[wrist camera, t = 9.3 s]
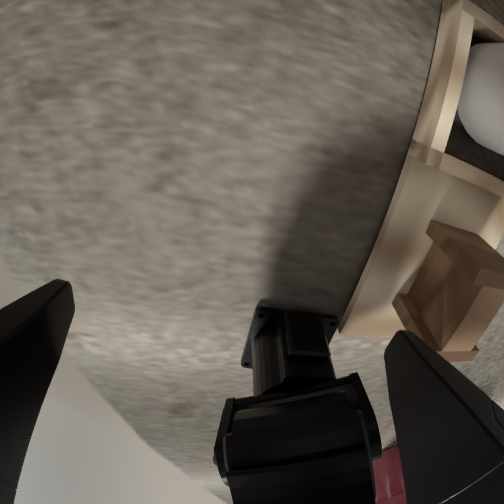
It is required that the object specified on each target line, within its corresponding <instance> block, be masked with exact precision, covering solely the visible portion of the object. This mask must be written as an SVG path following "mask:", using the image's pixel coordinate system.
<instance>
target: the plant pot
mask: <svg viewBox="0 0 504 504" xmlns="http://www.w3.org/2000/svg"><path fill="white" fill-rule="evenodd" d="M372 463H373V470H374V478H375V485H376V493H377V494H376V499H375V501H376V504H407V502H406V494H405V486H404V479H403V472H402V466H401V460H400V454H399V448H398V446H395V447H392V448H389V449H387V450H385V451H383V452H382V459H381V460H379V461H376V462H372Z"/></svg>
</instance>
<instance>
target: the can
mask: <svg viewBox="0 0 504 504" xmlns="http://www.w3.org/2000/svg"><path fill="white" fill-rule="evenodd" d="M457 110H458V114H459V117H460V119H461V121H462V123H463V125H464V127H465V130H466V131H467V133H468V134H469V135H470V136H471V137H472V138H473V139H474V141H475V142H477V143H478V144H480V145H482V146H484V147H486V148H488V149H490V150H492V151H494V152H496V153H499V154H501V155H503V156H504V43H481V44H475V45H473V46H472V47H470V50H469V56H468V61H467V66H466V71H465V76H464V80H463V85H462V89H461V93H460V97H459V101H458V105H457Z"/></svg>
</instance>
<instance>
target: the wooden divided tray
mask: <svg viewBox="0 0 504 504" xmlns="http://www.w3.org/2000/svg"><path fill="white" fill-rule="evenodd" d="M472 33H473V34H475V35H476V36H478V37H479V38H481V39H482V40H483V41H485V42H486V43H504V26H503V25H502V24H501V23H499V22H498V21H497V20H496V19H494V18H493V17H492V16H490V15H489V14H488V13H486V12H485V11H484V10H482V9H481V8H479V7H478V6H477V5H475V4H474V3H472V2H471V1H469V0H447V1H443V4H442V11H441V17H440V23H439V29H438V35H437V40H436V45H435V50H434V55H433V60H432V64H431V69H430V73H429V77H428V82H427V86H426V90H425V94H424V98H423V102H422V105H421V109H420V113H419V116H418V120H417V124H416V127H415V130H414V134H413V137H412V141H411V144H410V147H409V150H408V153H407V157H406V160H405V163H404V166H403V169H402V172H401V175H400V178H399V181H398V184H397V187H396V189H395V192H394V195H393V198H392V201H391V203H390V206H389V209H388V212H387V214H386V217H385V219H384V222H383V225H382V227H381V230H380V232H379V235H378V237H377V240H376V242H375V245H374V247H373V250H372V252H371V255H370V257H369V259H368V262H367V264H366V266H365V269H364V271H363V273H362V276H361V278H360V280H359V283H358V285H357V287H356V289H355V291H354V294H353V296H352V298H351V300H350V302H349V305H348V307H347V309H346V311H345V313H344V315H343V317H342V319H341V321H340V323H339V326H338V331H339V334H340V335H350V336H363V337H378V338H393V336H394V335H395V333H396V332H397V331H398V330H410V331H412V332H413V333H414V334H416V335H417V336H418V337H419V338H420V339H422V340H423V341H424V342H425V343H426V344H428V345H429V346H430V347H431V348H432V349H434V350H435V351H436V352H437V353H438V354H440V355H441V356H442V357H443V358H444V359H445V360H447V361H448V362H459V361H472V360H473V358H474V357H475V356H476V354H477V353H478V352H479V350H478V348H477V346H476V345H475V344H476V343H477V342H478V340H479V339H480V337H481V336H482V335H483V333H484V332H485V330H486V329H487V327H488V326H489V324H490V323H491V321H492V320H493V318H494V317H495V315H496V313H497V312H498V310H499V309H500V307H501V305H502V304H503V302H504V258H503V257H502V256H501V255H500V254H499V253H498V252H497V251H496V250H495V249H496V247H497V245H498V243H499V241H500V239H501V236H502V234H503V232H504V181H502V180H500V179H498V178H496V177H495V176H493V175H491V174H489V173H487V172H485V171H483V170H481V169H479V168H477V167H475V166H473V165H471V164H469V163H467V162H465V161H462V160H460V159H458V158H456V157H454V156H452V155H449V154H447V153H445V152H444V151H445V148H446V144H447V141H448V138H449V134H450V131H451V127H452V124H453V120H454V117H455V113H456V109H457V105H458V101H459V97H460V93H461V89H462V85H463V80H464V76H465V71H466V66H467V61H468V56H469V50H470V45H471V38H472Z"/></svg>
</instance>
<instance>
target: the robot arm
mask: <svg viewBox="0 0 504 504" xmlns="http://www.w3.org/2000/svg"><path fill="white" fill-rule="evenodd" d="M74 312H75V304H74V298H73V292H72V286H71V283H70V282H69V281H65V280H61V279H55V280H53V281H51V282H49V283H47V284H45V285H43V286H42V287H40V288H38V289H36V290H34V291H32V292H30V293H29V294H27V295H25V296H23V297H21V298H20V299H18V300H16V301H14V302H13V303H11V304H9V305H7V306H5V307H3V308H2V309H0V504H14V499H15V495H16V489H17V486H18V481H19V477H20V474H21V470H22V466H23V462H24V459H25V456H26V452H27V449H28V445H29V442H30V439H31V436H32V433H33V430H34V426H35V424H36V421H37V418H38V415H39V412H40V409H41V406H42V403H43V401H44V398H45V396H46V393H47V390H48V388H49V385H50V383H51V380H52V377H53V375H54V373H55V370H56V368H57V365H58V362H59V360H60V356H61V353H62V350H63V347H64V343H65V340H66V337H67V334H68V331H69V328H70V325H71V322H72V319H73V316H74ZM260 313H264V314H263V315H260ZM333 321H334V322H333ZM331 322H333V323H331ZM338 325H339V320H338V317H336V316H334V315H325V314H316V313H308V312H299V311H291V310H284V309H276V308H269V307H258V308H257V309H256V310H255V312H254V316H253V319H252V323H251V326H250V330H249V334H248V337H247V341H246V344H245V348H244V351H243V355H242V358H241V366H242V367H244V368H252V369H253V392H254V396H250V397H244V398H237V399H235V398H228V399H226V403H225V407H224V409H223V412H222V417H221V421H220V425H219V429H218V434H217V438H216V442H215V446H214V453H215V454H214V456H213V462H214V464H215V465H217V466H218V470H219V473H220V476H221V479H222V480H223V482H224V483H225V485H226V486H229V487H230V491H231V495H232V499H233V504H376V501H375V499H376V494H377V493H376V485H375V478H374V470H373V463H372V462H376V461H379V460H381V459H382V445H381V438H380V433H379V428H378V424H377V420H376V417H375V414H374V411H373V408H372V406H371V403H370V401H369V399H368V396H367V394H366V391H365V389H364V387H363V384H362V382H361V380H360V377H359V375H358V373H357V372H356V373H352V374H349V376H346V377H342V378H338V379H336V376H335V372H334V368H333V364H332V360H331V357H330V356H331V353H330V349H329V346H328V345H329V343H330V341H331V339H332V337H333V335H334V333H335V331H336V329H337V327H338ZM384 360H385V368H386V375H387V384H388V392H389V400H390V406H391V411H392V416H393V421H394V426H395V431H396V437H397V442H398V448H399V454H400V460H401V466H402V472H403V479H404V486H405V494H406V502H407V504H504V410H503V409H502V408H501V407H500V406H499V405H497V404H496V403H495V402H494V401H493V400H491V398H489V397H488V396H487V395H486V394H485V393H484V392H483V391H482V390H480V389H479V388H478V387H477V386H476V385H475V384H474V383H472V382H471V381H470V380H469V379H468V378H467V377H465V376H464V375H463V374H462V373H461V372H460V371H458V370H457V369H456V368H455V367H454V366H453V365H451V364H450V363H449V362H448V361H447V360H445V359H444V358H443V357H442V356H441V355H440V354H438V353H437V352H436V351H435V350H434V349H432V348H431V347H430V346H429V345H428V344H426V343H425V342H424V341H423V340H422V339H420V338H419V337H418V336H417V335H416V334H414V333H413V332H412V331H410V330H398V331H397V332H396V333H395V335H394V336H393V338H392V340H391V341H390V343H389V344H388V346H387V348H386V349H385V353H384ZM246 362H247V363H246Z"/></svg>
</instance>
